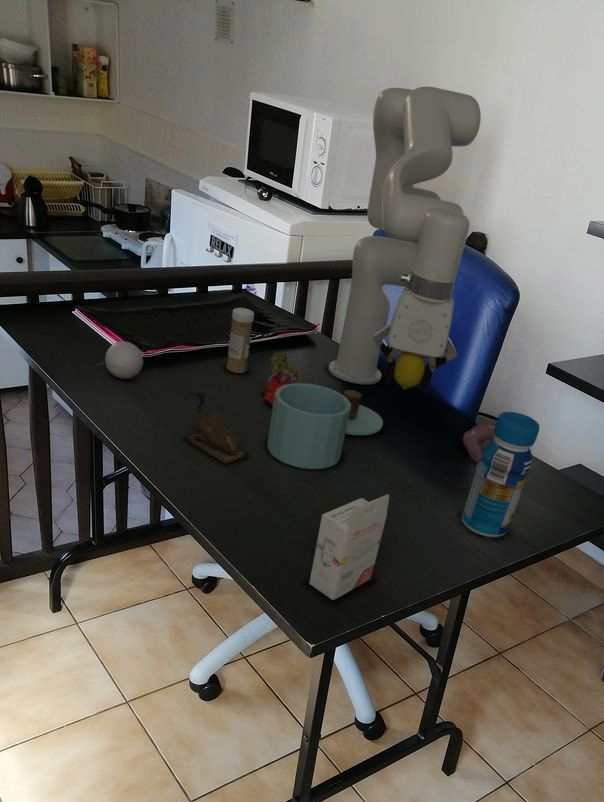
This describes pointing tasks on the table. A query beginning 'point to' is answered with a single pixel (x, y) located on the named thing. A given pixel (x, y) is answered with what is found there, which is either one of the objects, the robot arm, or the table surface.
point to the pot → (308, 425)
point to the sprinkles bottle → (240, 340)
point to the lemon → (409, 369)
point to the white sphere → (124, 360)
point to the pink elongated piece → (478, 440)
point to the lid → (361, 416)
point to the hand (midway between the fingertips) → (405, 383)
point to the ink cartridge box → (348, 546)
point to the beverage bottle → (501, 475)
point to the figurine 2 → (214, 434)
